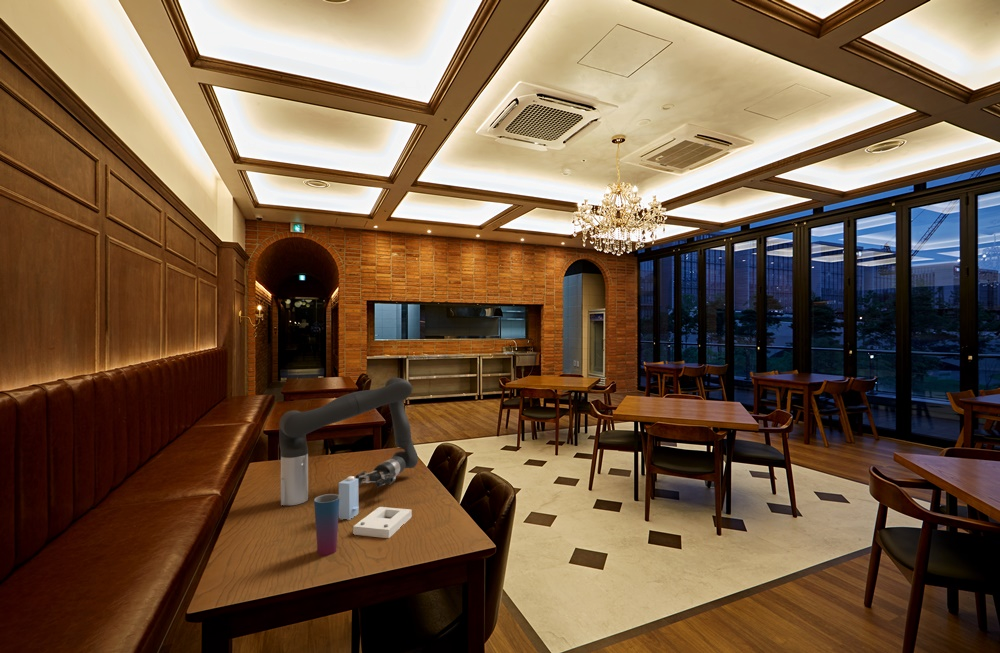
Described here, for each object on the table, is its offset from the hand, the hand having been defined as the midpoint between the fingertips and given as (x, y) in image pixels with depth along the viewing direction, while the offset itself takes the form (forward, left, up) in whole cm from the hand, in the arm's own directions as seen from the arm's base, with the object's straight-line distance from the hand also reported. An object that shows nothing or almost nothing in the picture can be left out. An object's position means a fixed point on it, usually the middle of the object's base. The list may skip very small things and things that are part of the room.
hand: (365, 484), depth 162 cm
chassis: (+2, -21, -7) cm, 23 cm away
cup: (-16, -31, -7) cm, 36 cm away
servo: (-7, -8, -7) cm, 13 cm away
